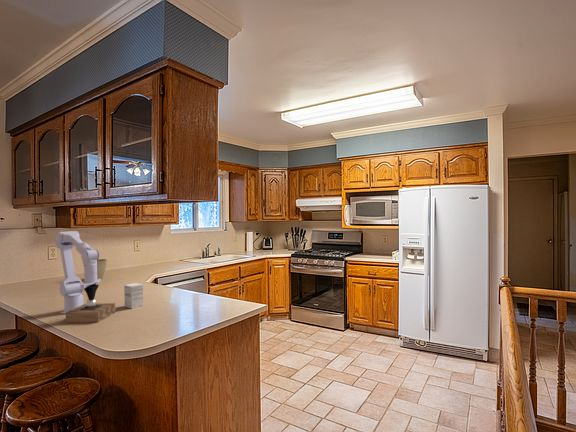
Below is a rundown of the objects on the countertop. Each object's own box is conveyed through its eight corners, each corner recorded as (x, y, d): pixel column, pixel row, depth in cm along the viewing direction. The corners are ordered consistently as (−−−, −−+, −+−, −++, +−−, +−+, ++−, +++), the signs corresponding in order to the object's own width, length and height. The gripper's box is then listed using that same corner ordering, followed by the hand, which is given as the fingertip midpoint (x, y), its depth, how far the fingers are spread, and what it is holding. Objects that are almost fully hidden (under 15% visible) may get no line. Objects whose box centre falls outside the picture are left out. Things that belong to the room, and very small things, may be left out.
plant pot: (92, 278, 276) (91, 259, 276) (110, 277, 277) (110, 258, 277) (82, 282, 261) (81, 262, 261) (101, 281, 262) (101, 261, 262)
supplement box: (124, 307, 188) (123, 284, 188) (136, 304, 195) (135, 282, 194) (131, 309, 184) (131, 286, 184) (143, 305, 191) (143, 283, 190)
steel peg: (90, 308, 172) (89, 298, 172) (97, 308, 172) (97, 298, 172) (85, 310, 168) (85, 301, 168) (93, 310, 168) (93, 300, 168)
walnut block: (85, 312, 178) (85, 302, 178) (115, 312, 178) (115, 302, 178) (65, 322, 162) (65, 311, 162) (98, 322, 162) (98, 311, 162)
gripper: (90, 275, 163) (90, 303, 163) (106, 270, 177) (106, 295, 178) (75, 275, 163) (76, 303, 163) (93, 270, 177) (93, 296, 178)
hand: (91, 299), depth 170 cm, fingers closed
